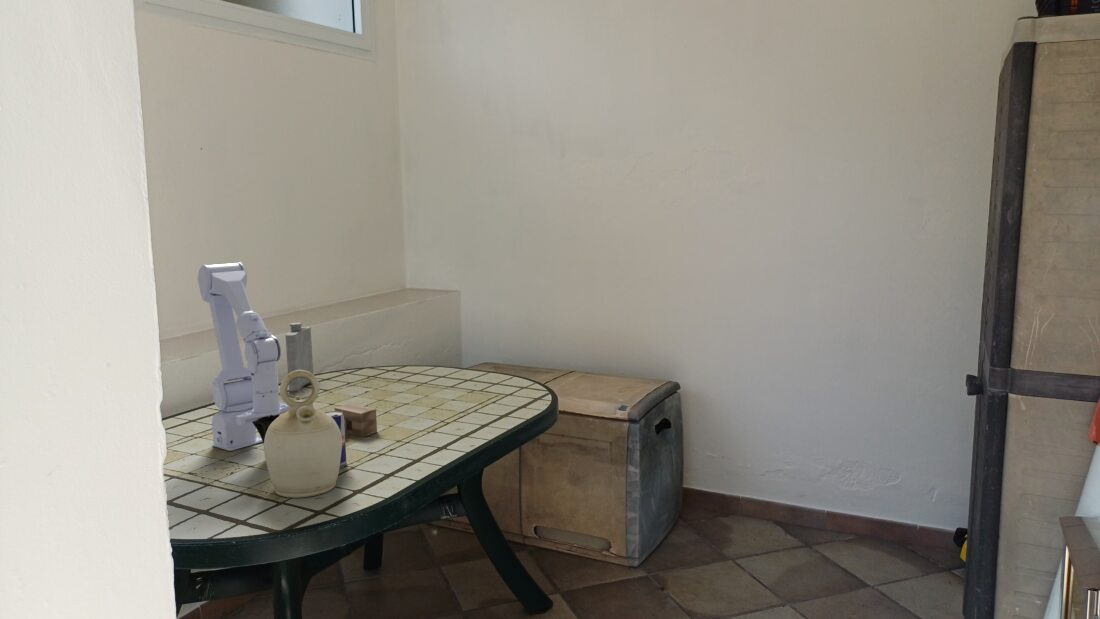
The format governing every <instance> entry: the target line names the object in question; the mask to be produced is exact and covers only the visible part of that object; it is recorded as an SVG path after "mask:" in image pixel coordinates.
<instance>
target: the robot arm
mask: <svg viewBox="0 0 1100 619" xmlns="http://www.w3.org/2000/svg"><path fill="white" fill-rule="evenodd" d="M247 272H248V271H247V269H246V266H244V265H243V263H242V262H240V261H237V262H234V263H233V262H232V263H220V264H219V263H218V264H202V265H201V266H200V267H199V269H198V276H197V280H198V286H199V287H198V288H199V292H200V296H201V299H202V301H203V302H206V303H208V304H209V309H210V313H211V317H212V323H213V329H214V333H215V338H216V343H217V348H218V353H219V357H220V363H221V368H222V369H221V371H220V372H218V374H217V375H216V376H214V379H213V380H212V387H213V388H212V389H213V390H212V391H213V392H212V395H213V401H214V404H215V406H216V407H217V408H218V409H220V410H221V411H219V412H217V413H214V414H213V416H212V419H211V428H212V440H213V443H212V444H211V446H213V447H216V448H219V449H222V450H224V451H225V450H226V451H229V452H231V451H235V450H238V449H242V448H245V447H249V446H253V445H256V444H258V443H260V444H261V443H262V444H263V445H264V439H265V435H266V432H267V430H268V427H269V426H270V424H271V423H272V422H273V421H274V420H275V419H276V418H278V417H279V416H280V415H282V414H284V413H286V412H288V411H289V408H290V406H289V405H287V404H286V403H285V402H284V403H283V402H282V403H281V402H280V386H279V378H278V377H279V375H278V374H279V373H278V363H277V362H279V361H280V359H281V356H282V350H281V344H280V342H279V339H278V338H277V337H276V336H274V335H273V333H272V332H269V331H268V328H267V327H266V324H265V322H264V321H263V320H264V319H263V318H262V317H261V315H260V313H258V312H256V311H254V310H253V308H252V304H251V302H250V299H249V296H248V293H247V291H246V288H247V281H248V273H247ZM234 313H235V314H234ZM234 315H236V317H237V319H236V321H235V316H234ZM238 332H239V334H238ZM239 335H240V338H241V339H242V341H243V343H244V356H245V360H246V362H247V366H245V365H244V360H243V356H242V350H241V346H240V345H241V344H240V341H239V337H238V336H239ZM257 432H258V434H259V437H258V436H257Z"/></svg>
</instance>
